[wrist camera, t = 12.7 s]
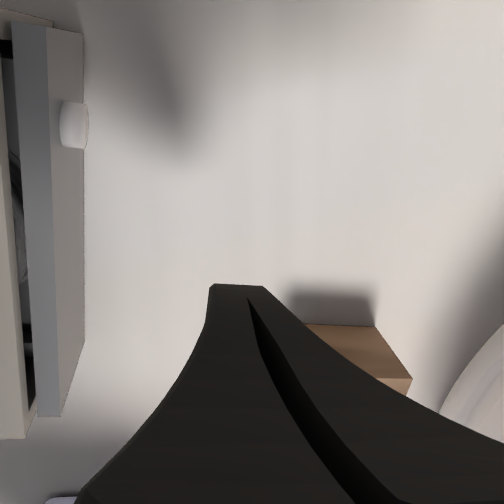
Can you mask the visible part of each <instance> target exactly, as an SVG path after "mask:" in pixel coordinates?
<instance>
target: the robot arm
mask: <svg viewBox="0 0 504 504" xmlns="http://www.w3.org/2000/svg"><path fill="white" fill-rule="evenodd" d="M45 504H504V443H502V442H500V441H497V440H495V439H492V438H490V437H487V436H485V435H483V434H480V433H478V432H476V431H474V430H472V429H470V428H468V427H465V426H463V425H461V424H459V423H457V422H455V421H453V420H450V419H448V418H446V417H444V416H442V415H440V414H438V413H436V412H434V411H432V410H430V409H428V408H426V407H424V406H423V405H421V404H419V403H417V402H415V401H413V400H412V399H410V398H408V397H406V396H405V395H403V394H401V393H399V392H397V391H396V390H394V389H392V388H391V387H389V386H387V385H386V384H384V383H382V382H381V381H379V380H377V379H376V378H374V377H373V376H371V375H370V374H368V373H367V372H365V371H364V370H362V369H361V368H359V367H358V366H356V365H355V364H353V363H352V362H351V361H349V360H348V359H346V358H345V357H344V356H342V355H341V354H340V353H338V352H337V351H336V350H335V349H333V348H332V347H331V346H330V345H328V344H327V343H326V342H324V341H323V340H322V339H321V338H320V337H318V336H317V335H316V334H315V333H314V332H312V331H311V330H310V329H309V328H308V327H307V326H306V325H304V324H303V323H302V322H301V321H300V320H299V319H298V318H297V317H296V316H295V315H293V314H292V313H291V312H290V311H289V310H288V309H287V308H286V307H285V306H284V305H283V304H282V303H281V302H280V301H279V300H278V299H277V298H275V297H274V296H273V295H272V294H271V293H270V292H269V291H268V290H267V289H266V288H264V287H263V286H252V285H233V284H213V285H212V286H211V287H210V288H209V296H208V304H207V311H206V319H205V324H204V327H203V329H202V332H201V334H200V336H199V338H198V341H197V343H196V345H195V347H194V350H193V352H192V354H191V355H190V357H189V359H188V361H187V363H186V365H185V366H184V368H183V370H182V371H181V373H180V375H179V376H178V378H177V380H176V381H175V383H174V384H173V386H172V387H171V388H170V390H169V391H168V393H167V394H166V396H165V397H164V399H163V400H162V401H161V403H160V404H159V405H158V407H157V408H156V409H155V411H154V412H153V413H152V414H151V415H150V417H149V418H148V419H147V420H146V421H145V423H144V424H143V425H142V426H141V427H140V429H139V430H138V431H137V432H136V433H135V434H134V436H133V437H132V438H131V439H130V440H129V441H128V443H127V444H126V445H125V446H124V447H123V448H122V449H121V450H120V451H119V452H118V453H117V454H116V455H115V456H114V457H113V458H112V459H111V460H110V461H109V462H108V463H107V464H106V465H105V466H104V467H103V468H102V469H101V470H100V471H99V472H98V473H97V474H96V475H95V476H94V477H93V478H92V479H91V480H90V481H89V482H88V483H87V484H86V485H85V486H84V487H83V488H82V489H81V491H80V493H79V494H78V496H77V497H56V498H51V499H49V500H48V501H47V502H46V503H45Z"/></svg>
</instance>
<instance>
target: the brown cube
mask: <svg viewBox="0 0 504 504" xmlns="http://www.w3.org/2000/svg"><path fill="white" fill-rule="evenodd" d="M304 325H306V326H307V327H308V328H309V329H310V330H311V331H312V332H314V333H315V334H316V335H317V336H318V337H320V338H321V339H322V340H323V341H324V342H326V343H327V344H328V345H330V346H331V347H332V348H333V349H335V350H336V351H337V352H338V353H340V354H341V355H342V356H344V357H345V358H346V359H348V360H349V361H351V362H352V363H353V364H355V365H356V366H358V367H359V368H361V369H362V370H364V371H365V372H367V373H368V374H370V375H371V376H373V377H374V378H376V379H377V380H379V381H381V382H382V383H384V384H386V385H387V386H389V387H391V388H392V389H394V390H396V391H397V392H399V393H401V394H403V395H405V396H406V394H407V392H408V389H409V387H410V385H411V382H412V380H413V378H412V377H411V375H410V374H409V373H408V371H407V370H406V369H405V367H404V366H403V364H402V363H401V362H400V360H399V359H398V357H397V356H396V355H395V353H394V352H393V351H392V349H391V348H390V346H389V345H388V344H387V342H386V341H385V339H384V338H383V337H382V335H381V334H380V333H379V331H378V330H377V328H376V327H360V326H337V325H314V324H304Z"/></svg>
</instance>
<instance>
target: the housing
mask: <svg viewBox="0 0 504 504" xmlns="http://www.w3.org/2000/svg"><path fill="white" fill-rule="evenodd" d="M11 20H12V21H17V22H23V23H28V24H34V25H39V26H44V27H50V28H53V21H50V20H46V19H42V18H38V17H34V16H30V15H26V14H22V13H18V12H14V11H10V10H7V9H3V8H0V54H4V55H10V56H13V46H12V31H11ZM36 409H37V400H36V385H35V370H34V357H24V346H23V334H22V321H21V309H20V296H19V283H18V271H17V258H16V246H15V233H14V220H13V208H12V195H11V183H10V170H9V157H8V145H7V132H6V120H5V107H4V94H3V82H2V69H1V57H0V439H25V437H26V435H27V432H28V430H29V427H30V424H31V422H32V419H33V417H34V414H35V412H36Z"/></svg>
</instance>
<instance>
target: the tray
mask: <svg viewBox="0 0 504 504" xmlns="http://www.w3.org/2000/svg"><path fill="white" fill-rule="evenodd" d="M11 31H12V46H13V56H10V55H4V54H0V57H1V69H2V82H3V94H4V107H5V120H6V132H7V145H8V157H9V160H10V161H12V162H13V163H14V164H15V165H16V166H17V167H18V168H19V169H20V171H21V179H22V193H23V208H24V223H25V238H26V252H27V267H28V273H27V274H26V276H25V277H24V279H23V280H22V282H21V283H20V285H19V296H20V309H21V321H22V334H23V346H24V357H34V370H35V385H36V400H37V415H38V417H60V416H61V413H62V410H63V407H64V404H65V401H66V398H67V395H68V392H69V388H70V385H71V382H72V379H73V376H74V373H75V370H76V367H77V364H78V360H79V357H80V354H81V351H82V348H83V345H84V342H85V337H84V148H85V147H86V144H87V139H88V127H89V119H88V109H87V106H86V104H84V92H83V34H80V33H75V32H70V31H65V30H60V29H55V28H50V27H44V26H39V25H34V24H28V23H23V22H17V21H12V20H11Z"/></svg>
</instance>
